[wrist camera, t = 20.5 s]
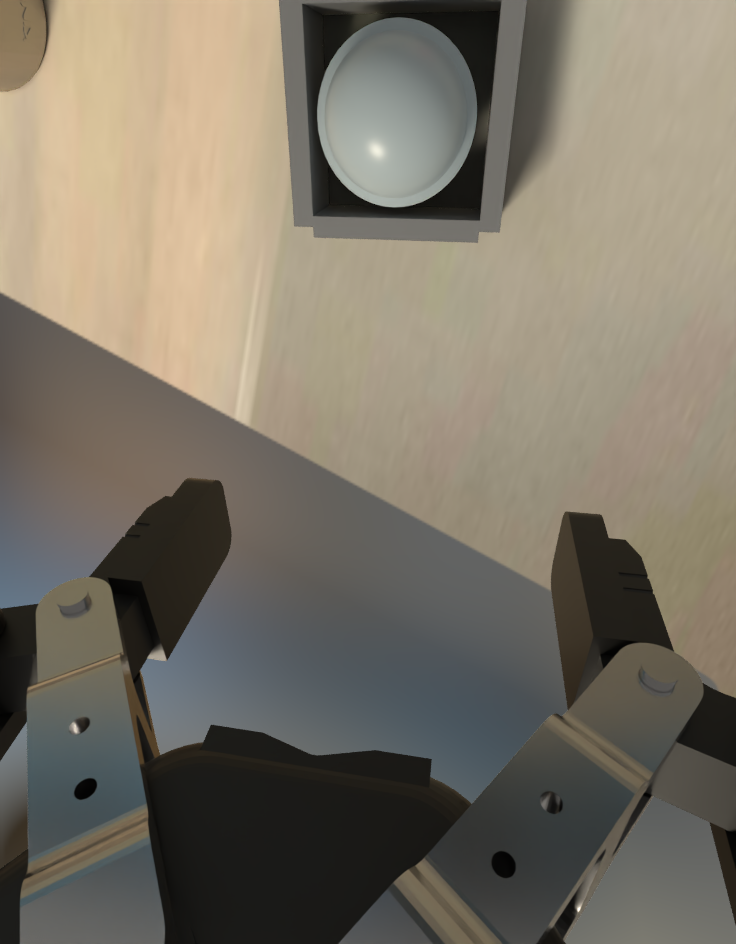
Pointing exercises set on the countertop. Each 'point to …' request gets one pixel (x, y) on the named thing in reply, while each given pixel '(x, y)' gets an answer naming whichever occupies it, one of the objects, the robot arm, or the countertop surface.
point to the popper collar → (308, 162)
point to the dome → (397, 112)
